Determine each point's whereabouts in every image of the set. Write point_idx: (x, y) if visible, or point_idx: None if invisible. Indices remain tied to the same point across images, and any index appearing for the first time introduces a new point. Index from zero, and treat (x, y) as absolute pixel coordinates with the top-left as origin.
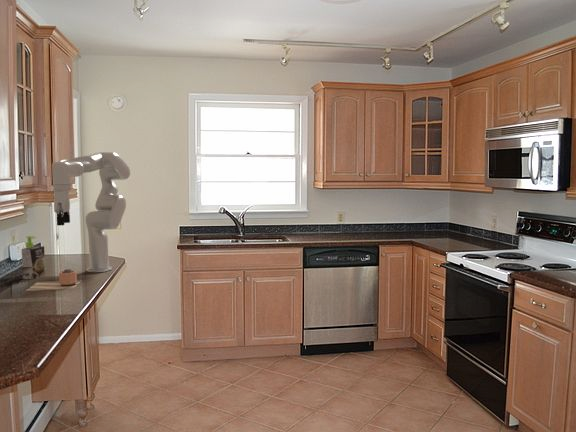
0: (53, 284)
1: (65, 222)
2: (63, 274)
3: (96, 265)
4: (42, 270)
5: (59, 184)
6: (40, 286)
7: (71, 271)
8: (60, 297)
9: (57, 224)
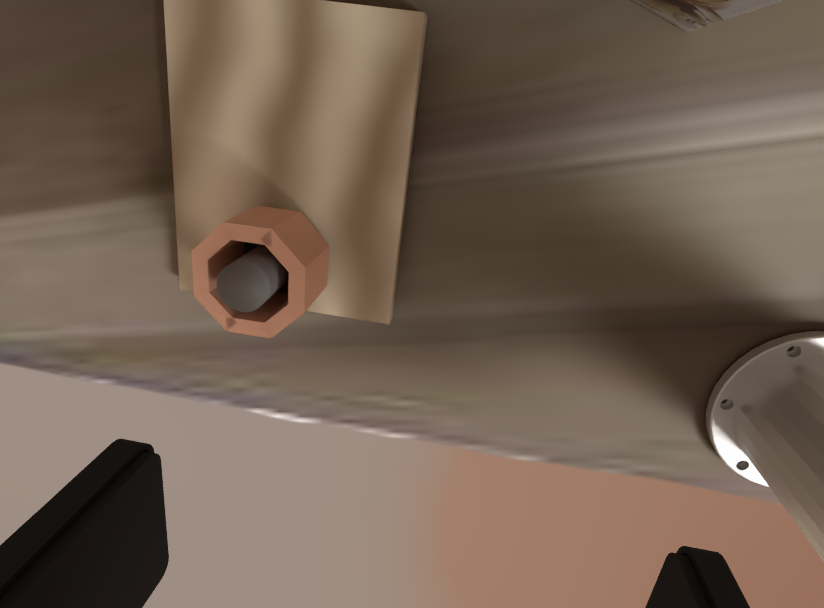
0: (313, 156)
1: (655, 598)
2: (195, 256)
3: (756, 420)
4: (673, 1)
5: None
6: (269, 71)
7: (290, 302)
8: (82, 227)
9: (107, 457)
